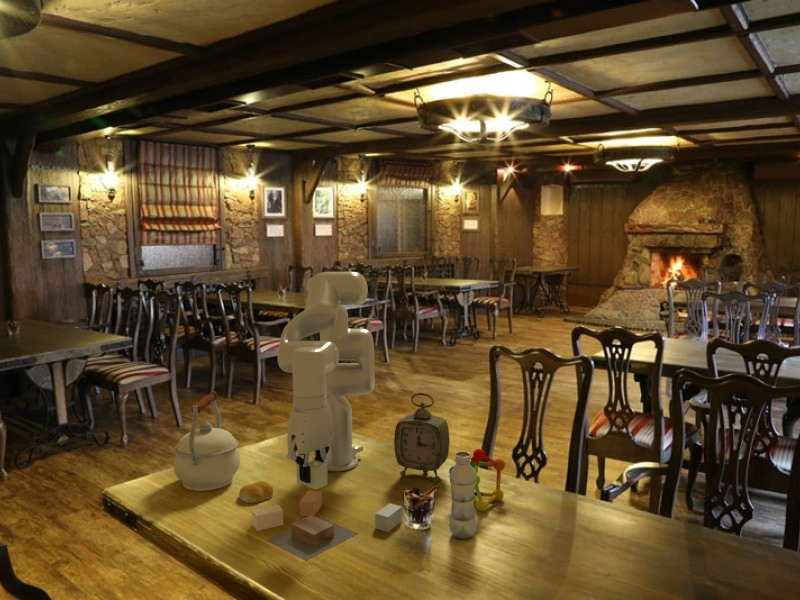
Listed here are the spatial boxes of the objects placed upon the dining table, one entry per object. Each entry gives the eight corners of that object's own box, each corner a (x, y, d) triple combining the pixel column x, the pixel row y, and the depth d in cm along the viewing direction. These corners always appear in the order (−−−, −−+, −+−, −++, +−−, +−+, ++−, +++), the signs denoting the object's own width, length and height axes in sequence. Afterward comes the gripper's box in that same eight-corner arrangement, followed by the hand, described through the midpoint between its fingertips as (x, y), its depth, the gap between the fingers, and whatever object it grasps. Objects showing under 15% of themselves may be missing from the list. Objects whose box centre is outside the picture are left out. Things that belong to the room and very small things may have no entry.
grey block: (389, 522, 158) (389, 503, 158) (402, 526, 156) (402, 506, 156) (375, 533, 153) (375, 513, 152) (388, 537, 151) (387, 517, 150)
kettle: (227, 498, 173) (223, 409, 170) (161, 497, 174) (156, 408, 171) (253, 463, 198) (250, 385, 195) (195, 463, 199) (191, 385, 196)
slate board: (318, 520, 159) (318, 516, 159) (358, 538, 150) (358, 533, 150) (266, 545, 147) (266, 540, 147) (306, 565, 138) (306, 560, 138)
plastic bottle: (479, 530, 153) (479, 450, 151) (473, 544, 147) (473, 460, 144) (453, 527, 155) (453, 447, 153) (446, 540, 149) (445, 457, 146)
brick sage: (296, 481, 148) (296, 461, 147) (308, 477, 151) (308, 456, 150) (315, 489, 144) (315, 468, 143) (327, 484, 146) (327, 464, 146)
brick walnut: (311, 526, 153) (310, 515, 153) (334, 537, 148) (333, 525, 148) (291, 536, 149) (291, 523, 149) (314, 547, 144) (314, 534, 143)
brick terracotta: (308, 508, 166) (308, 490, 166) (321, 509, 165) (321, 491, 165) (300, 520, 160) (299, 501, 159) (313, 521, 159) (313, 502, 158)
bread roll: (279, 496, 175) (278, 482, 174) (251, 506, 168) (250, 492, 168) (261, 487, 180) (261, 474, 180) (234, 497, 174) (233, 483, 173)
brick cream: (278, 523, 158) (278, 504, 157) (283, 529, 155) (282, 510, 154) (252, 529, 155) (252, 510, 154) (257, 536, 152) (256, 516, 151)
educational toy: (462, 491, 178) (465, 438, 178) (507, 501, 172) (509, 446, 172) (440, 508, 164) (442, 451, 164) (487, 519, 158) (490, 459, 158)
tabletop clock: (394, 477, 186) (393, 394, 183) (406, 467, 194) (405, 386, 191) (441, 485, 180) (441, 399, 177) (451, 473, 188) (451, 391, 185)
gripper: (325, 391, 154) (327, 464, 156) (270, 406, 141) (273, 485, 143) (347, 396, 149) (349, 472, 151) (292, 412, 136) (294, 494, 138)
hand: (312, 478), depth 147 cm, fingers closed on brick sage, 3 cm apart
